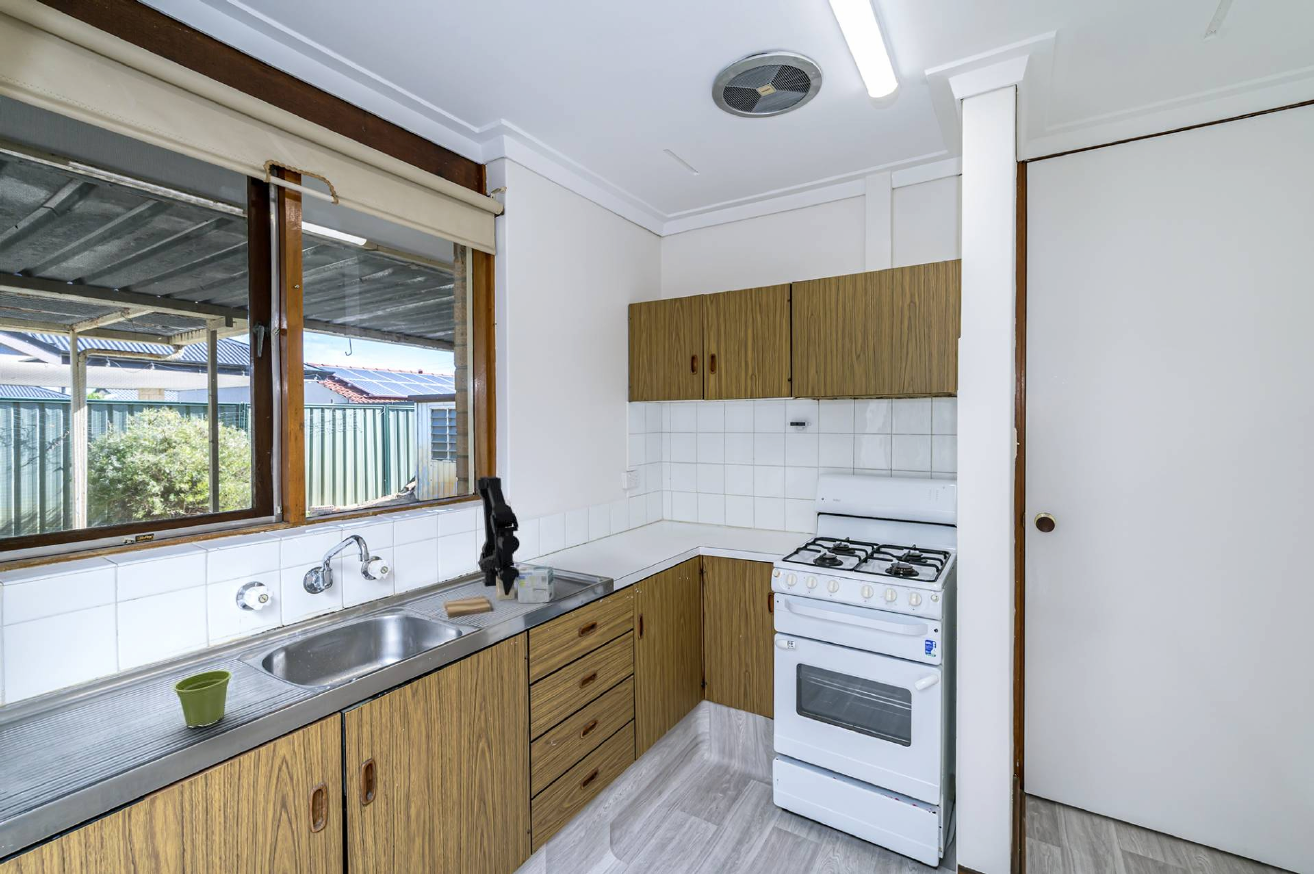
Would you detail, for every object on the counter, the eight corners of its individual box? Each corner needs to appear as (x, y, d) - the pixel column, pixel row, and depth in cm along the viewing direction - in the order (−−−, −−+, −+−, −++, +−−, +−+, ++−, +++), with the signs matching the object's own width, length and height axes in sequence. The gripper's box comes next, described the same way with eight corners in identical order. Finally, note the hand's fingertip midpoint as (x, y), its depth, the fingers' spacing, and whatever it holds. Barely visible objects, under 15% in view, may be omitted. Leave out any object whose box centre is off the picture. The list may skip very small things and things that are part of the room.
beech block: (496, 596, 201) (496, 576, 201) (511, 594, 203) (511, 574, 203) (499, 600, 196) (498, 579, 196) (514, 598, 198) (513, 577, 198)
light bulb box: (554, 597, 199) (553, 565, 199) (549, 603, 192) (548, 570, 192) (523, 597, 200) (522, 565, 199) (517, 603, 193) (516, 571, 193)
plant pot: (187, 738, 114) (185, 694, 114) (167, 726, 119) (165, 684, 119) (241, 717, 122) (239, 676, 122) (221, 706, 127) (219, 666, 127)
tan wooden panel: (444, 607, 192) (444, 601, 192) (485, 601, 198) (485, 595, 197) (448, 619, 180) (448, 613, 180) (492, 612, 186) (491, 606, 186)
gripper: (475, 544, 204) (477, 589, 205) (483, 556, 187) (485, 604, 188) (508, 541, 209) (509, 584, 209) (518, 551, 192) (520, 599, 192)
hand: (505, 592), depth 200 cm, fingers closed on beech block, 5 cm apart
